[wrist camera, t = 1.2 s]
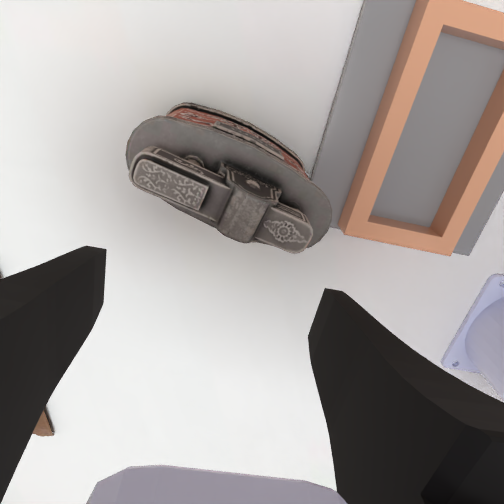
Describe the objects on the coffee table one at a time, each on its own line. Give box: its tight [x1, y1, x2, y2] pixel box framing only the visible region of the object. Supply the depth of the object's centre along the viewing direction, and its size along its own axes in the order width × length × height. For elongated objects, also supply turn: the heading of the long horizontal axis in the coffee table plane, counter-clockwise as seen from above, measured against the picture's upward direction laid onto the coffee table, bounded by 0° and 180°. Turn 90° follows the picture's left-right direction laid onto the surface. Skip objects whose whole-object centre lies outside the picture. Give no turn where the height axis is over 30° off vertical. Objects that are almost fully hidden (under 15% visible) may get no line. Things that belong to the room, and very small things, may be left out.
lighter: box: [126, 103, 332, 253], centre depth 16 cm, size 8×3×10 cm, turn 65°
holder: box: [310, 0, 504, 256], centre depth 19 cm, size 11×12×2 cm
